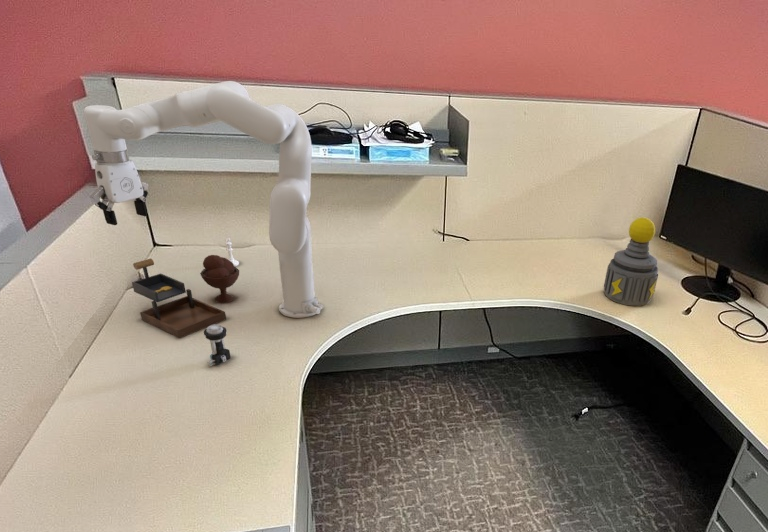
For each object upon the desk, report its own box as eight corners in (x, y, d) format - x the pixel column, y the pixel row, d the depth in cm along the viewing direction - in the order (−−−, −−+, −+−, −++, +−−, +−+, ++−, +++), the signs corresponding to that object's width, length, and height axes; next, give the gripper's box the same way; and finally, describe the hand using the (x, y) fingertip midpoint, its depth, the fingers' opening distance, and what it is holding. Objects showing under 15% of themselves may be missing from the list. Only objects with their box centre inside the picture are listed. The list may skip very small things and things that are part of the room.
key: (167, 286, 170) (167, 285, 169) (172, 288, 169) (171, 287, 168) (149, 292, 165) (149, 291, 165) (154, 294, 164) (153, 293, 164)
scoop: (186, 292, 169) (180, 266, 164) (157, 302, 162) (150, 275, 158) (161, 282, 173) (155, 255, 169) (132, 291, 166) (125, 264, 162)
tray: (226, 319, 169) (222, 299, 166) (179, 338, 158) (174, 317, 154) (189, 302, 176) (185, 283, 173) (141, 320, 164) (136, 299, 161)
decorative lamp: (592, 293, 211) (607, 215, 195) (619, 282, 223) (635, 207, 208) (635, 311, 200) (655, 230, 185) (661, 298, 213) (681, 221, 197)
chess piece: (241, 264, 204) (237, 238, 199) (228, 267, 201) (223, 240, 196) (235, 260, 207) (231, 234, 202) (221, 263, 204) (217, 236, 199)
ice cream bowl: (230, 308, 175) (223, 263, 167) (198, 302, 176) (189, 257, 169) (250, 295, 184) (243, 252, 176) (219, 289, 185) (211, 246, 178)
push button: (217, 370, 146) (210, 336, 141) (201, 365, 147) (194, 331, 142) (236, 358, 151) (230, 325, 146) (220, 353, 153) (213, 321, 148)
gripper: (93, 164, 141) (110, 230, 150) (150, 153, 155) (163, 214, 164) (70, 159, 143) (88, 225, 151) (129, 149, 157) (143, 209, 166)
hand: (127, 219), depth 158 cm, fingers open, 9 cm apart
